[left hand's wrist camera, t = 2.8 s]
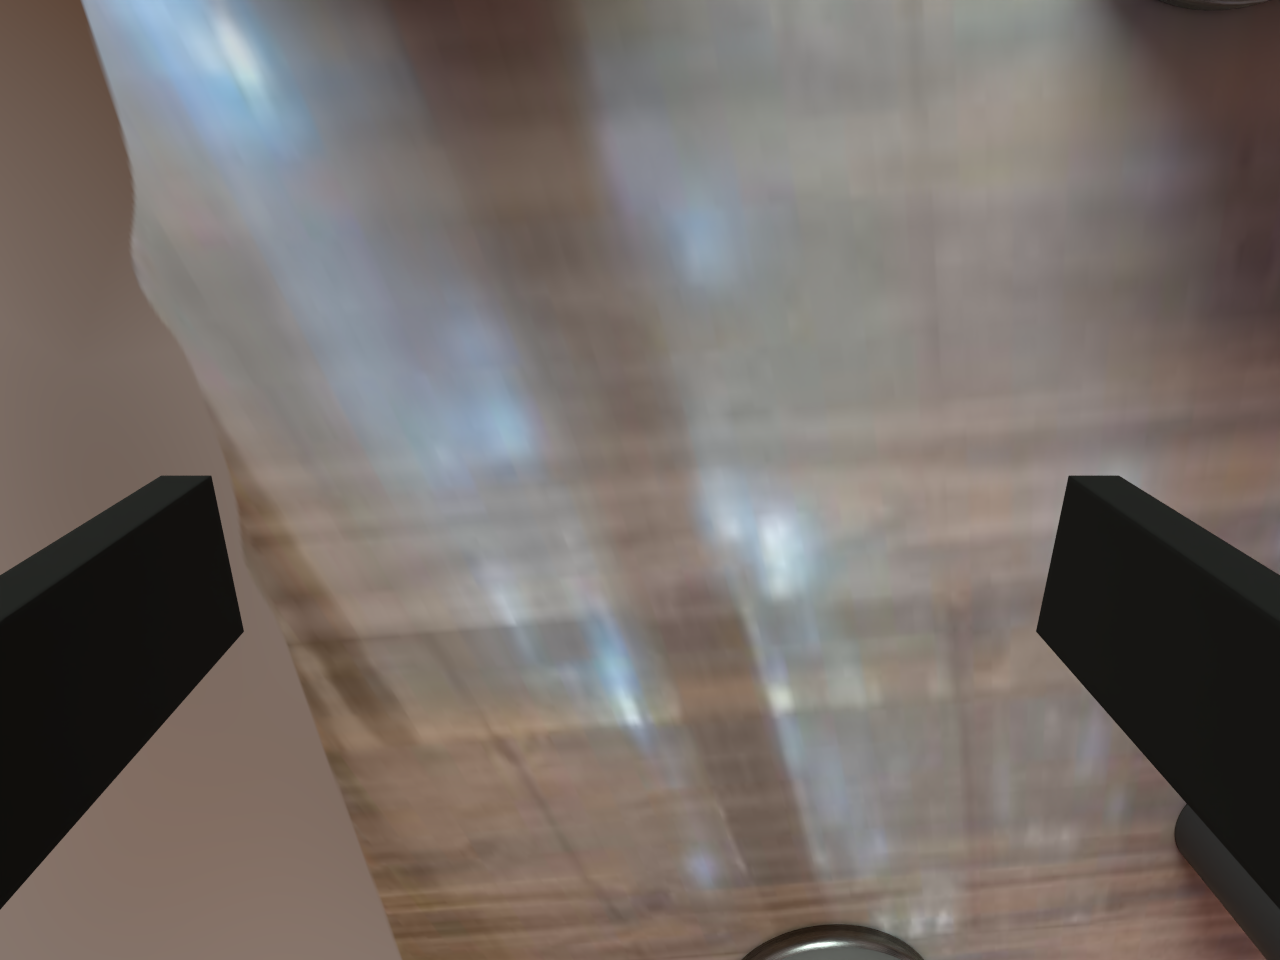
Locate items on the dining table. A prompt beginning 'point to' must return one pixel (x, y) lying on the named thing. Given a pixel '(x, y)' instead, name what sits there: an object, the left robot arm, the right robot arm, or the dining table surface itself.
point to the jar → (1230, 883)
